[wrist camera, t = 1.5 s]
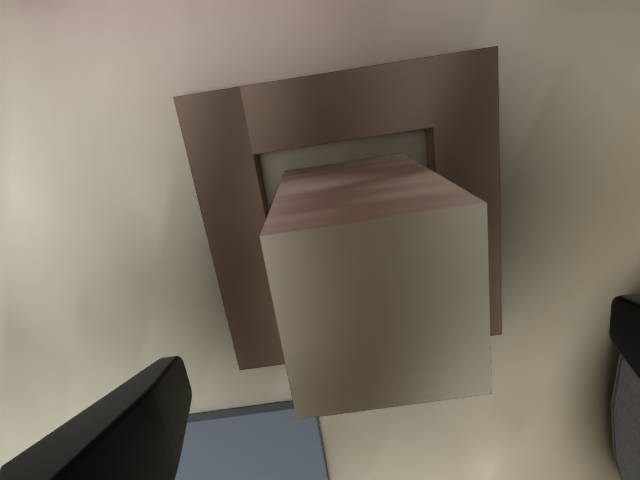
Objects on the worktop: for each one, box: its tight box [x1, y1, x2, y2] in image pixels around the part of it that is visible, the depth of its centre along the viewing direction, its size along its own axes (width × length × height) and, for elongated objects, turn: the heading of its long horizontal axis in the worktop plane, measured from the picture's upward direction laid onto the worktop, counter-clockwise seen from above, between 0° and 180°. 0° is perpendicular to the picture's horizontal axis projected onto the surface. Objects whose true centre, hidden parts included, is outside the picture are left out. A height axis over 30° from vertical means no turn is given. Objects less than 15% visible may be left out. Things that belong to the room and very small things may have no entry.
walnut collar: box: [173, 46, 502, 370], centre depth 18 cm, size 12×12×1 cm
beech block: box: [260, 153, 492, 420], centre depth 14 cm, size 5×5×9 cm
